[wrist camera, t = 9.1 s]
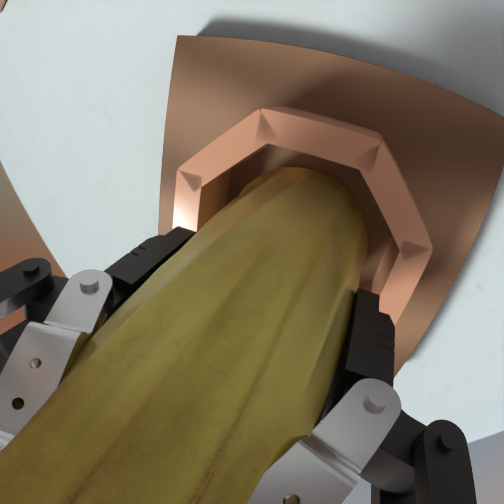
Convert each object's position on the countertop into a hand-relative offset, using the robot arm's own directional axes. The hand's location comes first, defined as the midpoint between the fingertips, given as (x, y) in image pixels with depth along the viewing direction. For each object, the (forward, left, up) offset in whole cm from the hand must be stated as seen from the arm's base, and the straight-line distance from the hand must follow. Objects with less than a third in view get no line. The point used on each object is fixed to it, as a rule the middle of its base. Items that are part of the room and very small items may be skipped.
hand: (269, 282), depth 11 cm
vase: (0, 0, -4) cm, 4 cm away
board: (0, 0, -7) cm, 7 cm away
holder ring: (0, 0, -5) cm, 5 cm away
